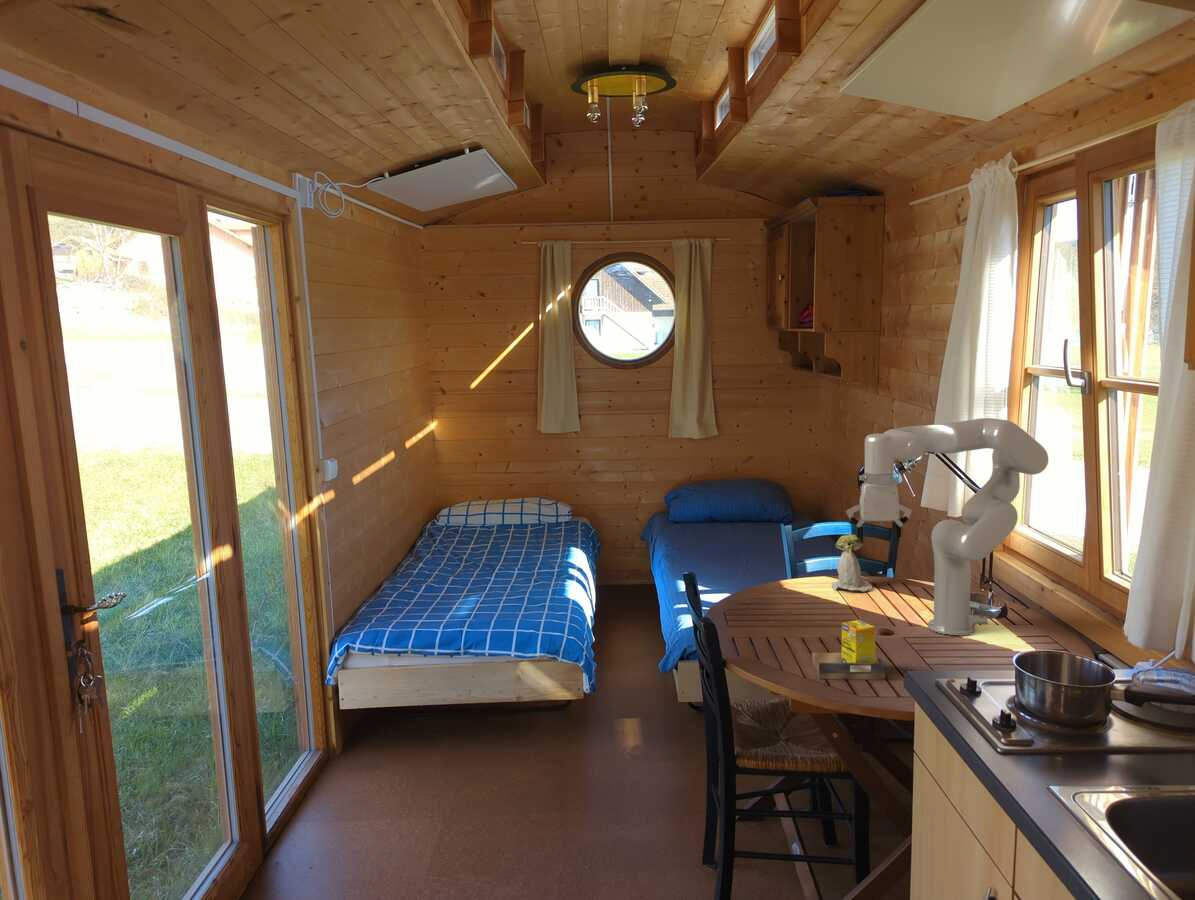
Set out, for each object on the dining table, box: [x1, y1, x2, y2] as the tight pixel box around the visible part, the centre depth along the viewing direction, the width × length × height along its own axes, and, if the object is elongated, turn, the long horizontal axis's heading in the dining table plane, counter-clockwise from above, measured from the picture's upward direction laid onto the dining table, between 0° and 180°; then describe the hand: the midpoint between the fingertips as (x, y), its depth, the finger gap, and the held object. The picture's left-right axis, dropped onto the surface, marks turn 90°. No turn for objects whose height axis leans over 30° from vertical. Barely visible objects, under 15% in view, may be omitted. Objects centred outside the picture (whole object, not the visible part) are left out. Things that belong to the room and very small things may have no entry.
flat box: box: [811, 652, 886, 681], centre depth 223 cm, size 16×14×4 cm
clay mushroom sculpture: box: [831, 533, 873, 593], centre depth 289 cm, size 12×13×18 cm
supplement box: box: [841, 619, 876, 663], centre depth 220 cm, size 6×6×11 cm
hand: (878, 540), depth 239 cm, fingers open, 9 cm apart
